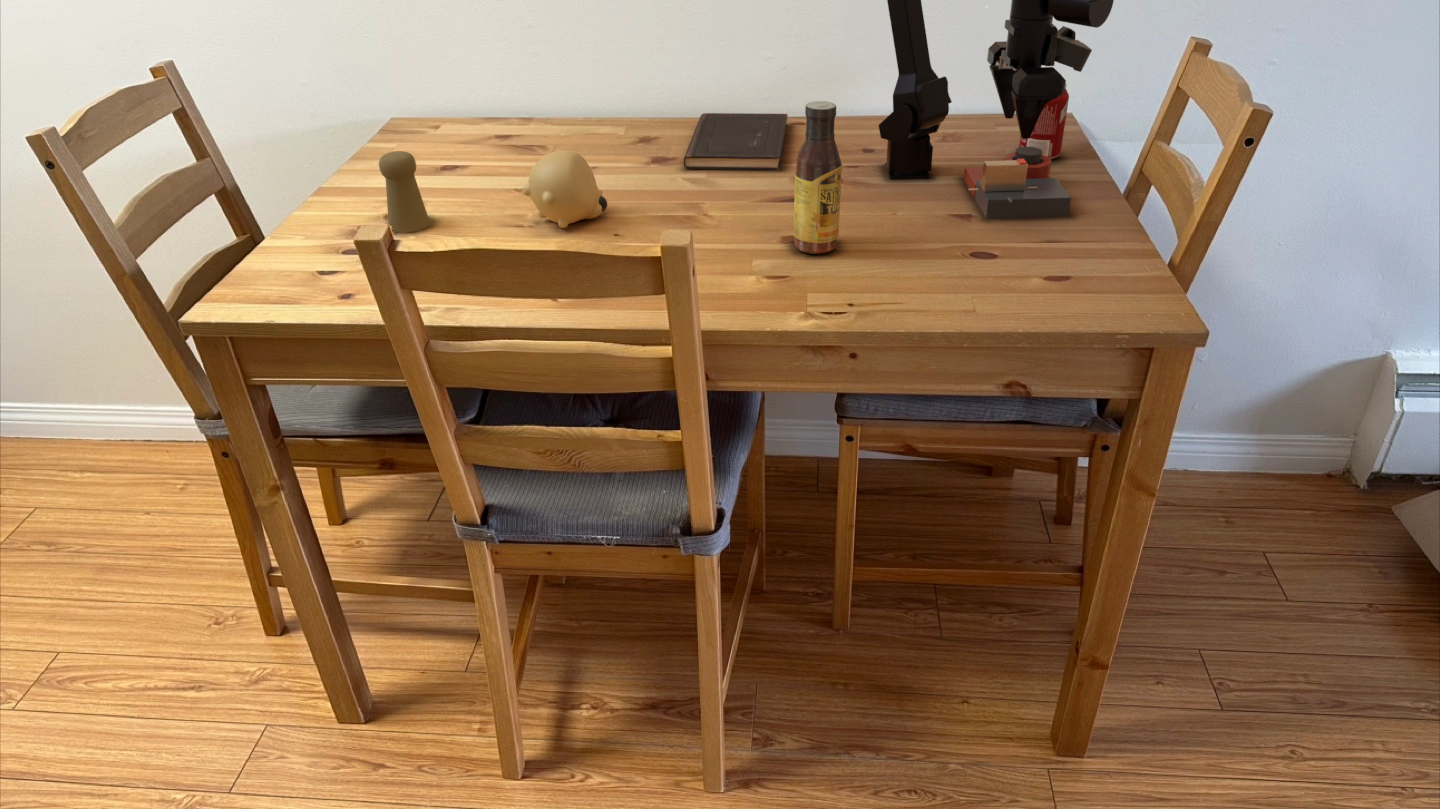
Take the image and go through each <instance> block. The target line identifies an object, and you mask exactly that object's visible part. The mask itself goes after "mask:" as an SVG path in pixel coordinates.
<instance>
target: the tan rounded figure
mask: <svg viewBox="0 0 1440 809" xmlns="http://www.w3.org/2000/svg"><path fill="white" fill-rule="evenodd" d="M522 193H523V194H524V196H529V197H530V198H531V200H532V203H533V204H534V205H535V207H536V208H537V216H538V217H539V218H541V219H545V218H547V219H548V220H550V221H552V222H554V223H557V225H558V227H559V228H561V229H565V228H567V227H568V226H569V225H570V224H574V223H577V222H579V221H581V220H593V219H596V218H597V217H599V216H600V215H602V213H604V212H605V211H607V208H608V200H607V198H606V197H605V196H603V193H604V192H603V190H600V189H599V187H598V185H597V181H596V178H595V175H594V173H593V171H592V169H591V167H590V165H589V163H588V162H587V160H586V159H585V157H584V156H582V155H581V154H579V153H578V152H577V151H576V152H575V151H573V150H566V149H565V150H564V149H563V150H555V151H552V152H549V153H547V154H545V155H544V156H543V155H542V157H541V158H539V160H538V161H537V162H536V163H535V164H534V165H533V167H532V169H531V171H530V173H529V177H528V183H526V184H525V185H524V186H523V187H522Z"/></svg>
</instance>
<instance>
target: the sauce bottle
mask: <svg viewBox="0 0 1440 809" xmlns="http://www.w3.org/2000/svg"><path fill="white" fill-rule="evenodd" d="M804 111H805V112H804V113H805V118H806V122H805V134H804V135H805V139H804V141H803V143H802V144H801V145H800V147H799V149H798V151H797V155H796V163H795V164H796V165H795V166H796V167H795V173H794V203H793V237H794V247H795V249H797V250H798V251H799V252H802V253H806V254H811V255H814V254H815V255H816V254H817V255H818V254H826V253H829V252H833V251H834V250H835V248H836V247H837V243H838V238H839V236H840V235H839V234H840V216H841V215H840V211H841V195H842V194H841V193H842V192H841V191H842V174H843V163H842V160H841V157H840V153H839V150H838V146H837V142H836V139H835V136H836V135H835V119H836V117H837V105H836V104H835V103H834V102H832V101H825V100H817V101H811V102H807V103H806V104H805V110H804Z"/></svg>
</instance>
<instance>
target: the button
mask: <svg viewBox="0 0 1440 809" xmlns="http://www.w3.org/2000/svg"><path fill="white" fill-rule="evenodd" d="M1014 153H1015V159H1014V160H1017V159H1024V160H1025V161H1026V162H1027V164H1028V165H1036V164H1040V163H1041V159H1042V150H1041V149H1039V148H1035V147H1020V148H1019V147H1017V148H1016V149H1015V152H1014Z"/></svg>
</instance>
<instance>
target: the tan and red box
mask: <svg viewBox="0 0 1440 809" xmlns="http://www.w3.org/2000/svg"><path fill="white" fill-rule="evenodd" d="M982 167H983V174H982V183H981V188H982V189H983V191H984V192H992V191H1024V190H1025V183H1026V176H1027V168H1028V164H1027V162H1026V161H1025V160H1024V159H1017V160H1010V161H1004V160H984V161H983V165H982Z"/></svg>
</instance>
